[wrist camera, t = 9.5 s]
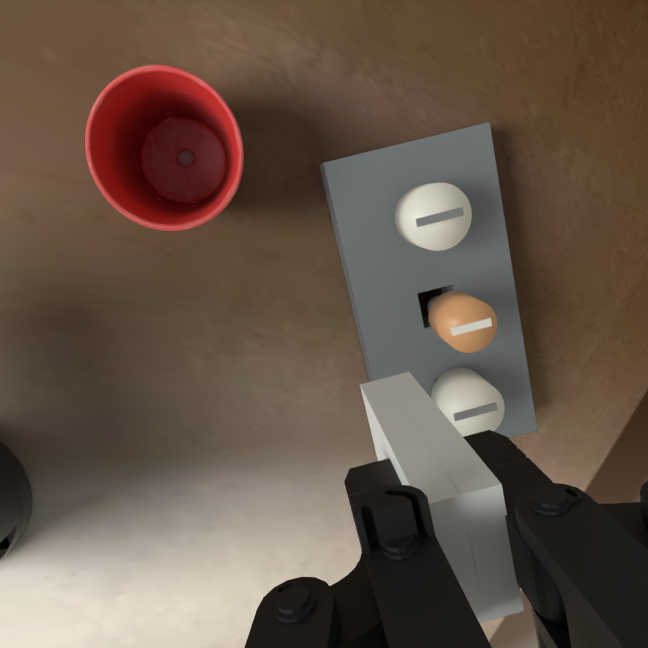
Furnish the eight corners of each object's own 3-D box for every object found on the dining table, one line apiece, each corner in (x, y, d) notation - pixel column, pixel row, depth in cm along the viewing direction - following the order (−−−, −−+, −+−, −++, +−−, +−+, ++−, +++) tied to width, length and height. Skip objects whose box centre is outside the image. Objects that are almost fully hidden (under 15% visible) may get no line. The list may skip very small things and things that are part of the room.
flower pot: (246, 93, 46) (240, 64, 36) (251, 225, 48) (246, 230, 39) (116, 91, 45) (75, 61, 35) (128, 226, 47) (92, 232, 38)
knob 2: (424, 411, 52) (451, 447, 44) (414, 363, 51) (440, 391, 43) (474, 398, 52) (510, 432, 45) (465, 349, 51) (500, 376, 44)
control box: (384, 449, 54) (393, 469, 50) (319, 166, 47) (323, 162, 44) (518, 414, 55) (537, 430, 51) (471, 128, 48) (489, 122, 44)
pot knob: (420, 334, 48) (450, 359, 40) (412, 290, 47) (440, 307, 39) (464, 322, 48) (502, 345, 40) (456, 278, 47) (493, 294, 39)
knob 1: (391, 249, 48) (414, 258, 41) (379, 193, 47) (401, 191, 40) (444, 235, 49) (477, 242, 41) (434, 179, 48) (466, 175, 40)
